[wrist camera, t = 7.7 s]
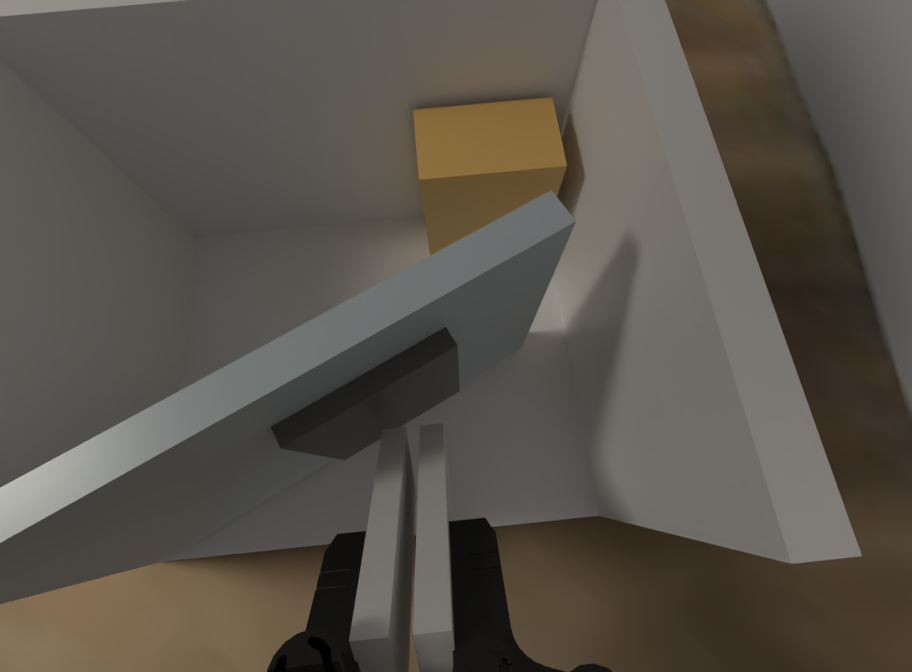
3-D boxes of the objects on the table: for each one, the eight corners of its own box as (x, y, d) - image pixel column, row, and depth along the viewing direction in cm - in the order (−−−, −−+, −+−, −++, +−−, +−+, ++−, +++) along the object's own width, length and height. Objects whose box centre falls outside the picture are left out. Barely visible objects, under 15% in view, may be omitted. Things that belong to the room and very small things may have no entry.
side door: (529, 358, 19) (591, 240, 10) (178, 570, 17) (-184, 682, 8) (509, 329, 20) (551, 190, 10) (164, 532, 17) (-193, 591, 8)
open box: (656, 507, 19) (955, 546, 7) (148, 560, 18) (-364, 687, 7) (585, 192, 24) (696, -73, 12) (185, 230, 23) (-77, -8, 12)
